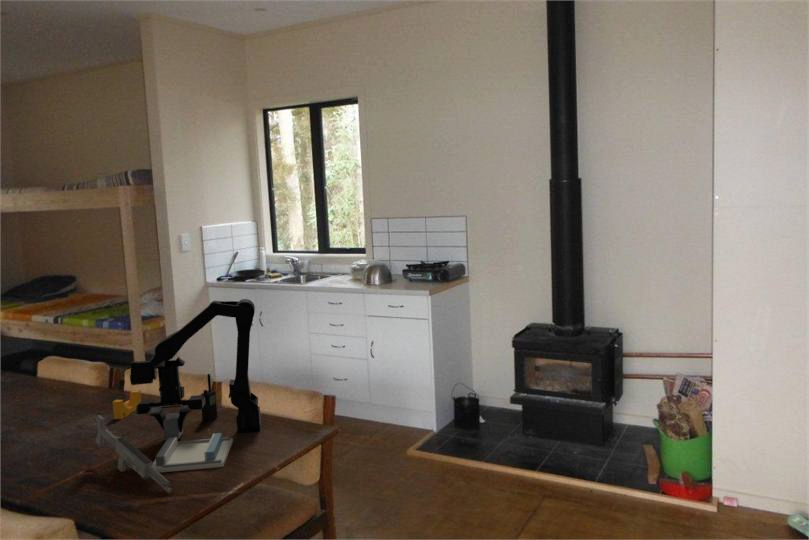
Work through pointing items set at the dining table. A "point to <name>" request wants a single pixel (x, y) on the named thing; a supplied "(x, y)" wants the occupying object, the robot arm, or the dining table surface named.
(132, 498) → the dining table surface
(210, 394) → the walkie-talkie
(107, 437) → the gun
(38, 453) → the dining table surface
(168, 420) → the steel block
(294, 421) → the dining table surface
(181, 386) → the robot arm
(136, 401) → the pipe clamp
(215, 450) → the vise free jaw
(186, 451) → the vise bed
